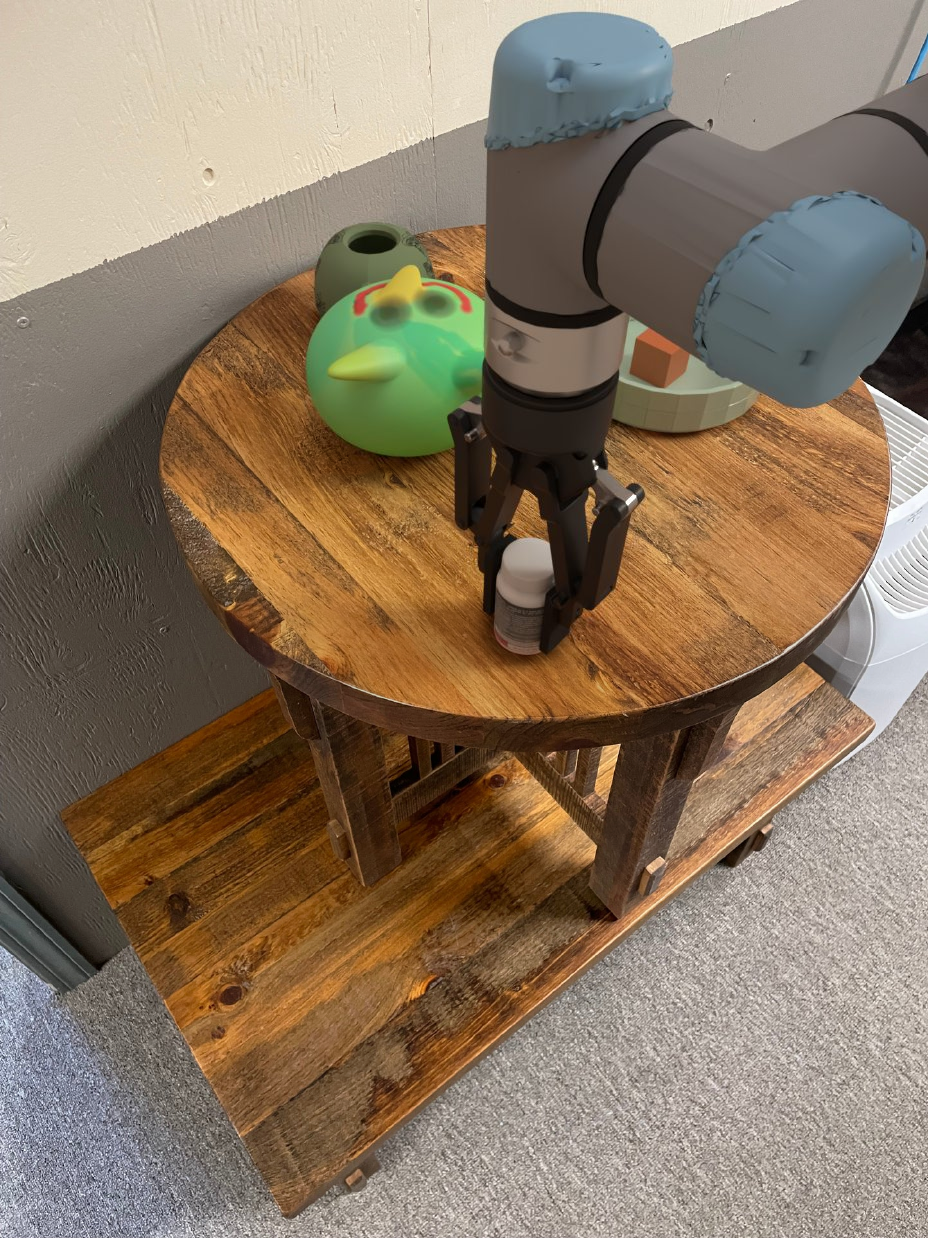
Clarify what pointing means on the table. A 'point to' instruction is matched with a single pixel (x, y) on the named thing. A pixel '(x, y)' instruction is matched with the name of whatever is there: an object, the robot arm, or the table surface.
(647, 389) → the bowl
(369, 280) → the mug
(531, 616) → the pill bottle
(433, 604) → the table surface
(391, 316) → the toy bird
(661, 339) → the block
